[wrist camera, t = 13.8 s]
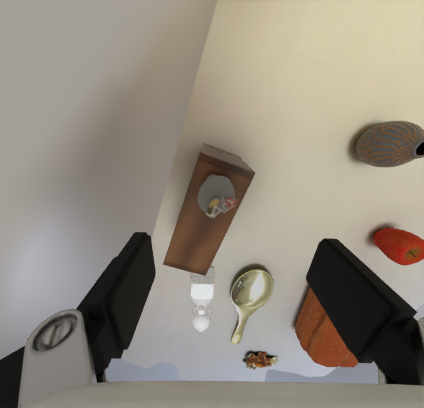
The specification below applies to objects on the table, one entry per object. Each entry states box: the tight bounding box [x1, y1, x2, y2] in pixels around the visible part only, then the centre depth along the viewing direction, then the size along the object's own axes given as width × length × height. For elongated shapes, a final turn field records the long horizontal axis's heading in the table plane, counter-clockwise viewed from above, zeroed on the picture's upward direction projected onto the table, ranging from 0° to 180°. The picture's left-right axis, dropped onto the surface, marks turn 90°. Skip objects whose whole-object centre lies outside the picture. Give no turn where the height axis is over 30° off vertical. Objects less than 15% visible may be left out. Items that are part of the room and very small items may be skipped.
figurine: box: [197, 174, 236, 218], centre depth 18 cm, size 5×4×6 cm
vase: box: [356, 121, 424, 167], centre depth 26 cm, size 7×7×9 cm
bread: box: [295, 288, 358, 367], centre depth 43 cm, size 16×27×11 cm, turn 178°
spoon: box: [231, 269, 274, 344], centre depth 48 cm, size 35×11×2 cm, turn 174°
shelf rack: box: [163, 143, 255, 276], centre depth 29 cm, size 7×18×12 cm, turn 160°
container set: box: [191, 267, 214, 332], centre depth 44 cm, size 20×5×6 cm, turn 177°
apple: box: [374, 228, 424, 265], centre depth 35 cm, size 6×6×8 cm
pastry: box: [243, 352, 278, 370], centre depth 58 cm, size 7×12×4 cm, turn 80°
